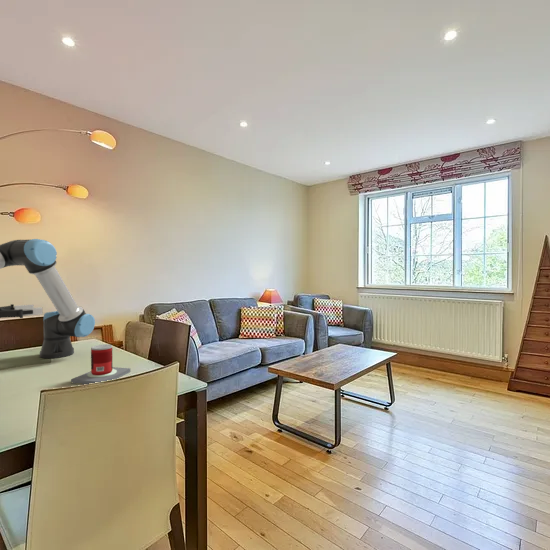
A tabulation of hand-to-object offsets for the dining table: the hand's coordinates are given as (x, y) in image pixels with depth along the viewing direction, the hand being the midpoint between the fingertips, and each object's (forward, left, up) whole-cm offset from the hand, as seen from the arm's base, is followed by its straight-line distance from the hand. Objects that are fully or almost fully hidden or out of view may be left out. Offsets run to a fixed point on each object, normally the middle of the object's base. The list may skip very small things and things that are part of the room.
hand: (37, 309), depth 140 cm
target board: (-7, +25, -29) cm, 38 cm away
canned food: (-6, +25, -27) cm, 37 cm away
